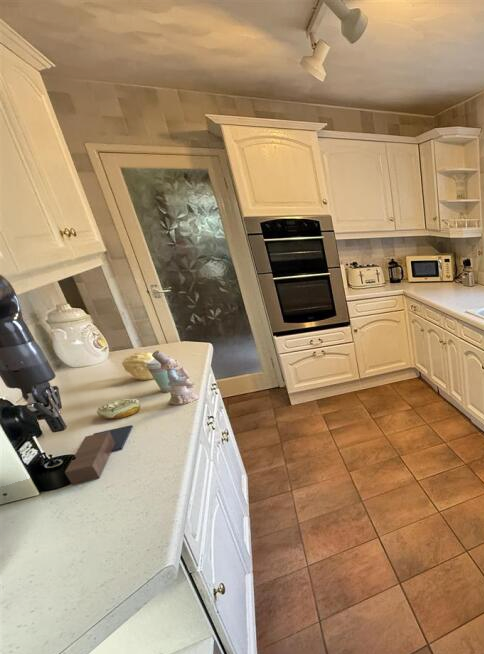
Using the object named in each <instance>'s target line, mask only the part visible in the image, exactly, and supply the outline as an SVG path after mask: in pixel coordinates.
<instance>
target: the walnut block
mask: <svg viewBox="0 0 484 654" xmlns="http://www.w3.org/2000/svg"><path fill="white" fill-rule="evenodd" d="M102 432H103V431H102ZM93 434H94V433H93ZM93 434H89V435H86V436H84V438H83V439H82V441H81V443H80V445H79V446H78V449H77V450H76V452H75V453H74V455H73V457H74V456H75V457H76V459H75V460H72V459H71V461H70V463H69V464H68V466H67V467H66V469H65V471H64V474H65V476H66V477H67V479H68V481H69V482H70V484H71V485H72V486H75V485H79V484H83V483H86V482H91V481H95V480H98V479H101V476H102V474H103V471H104V469H105V467H106V465H107V463H108V460H109V458H110V456H111V453H112V452H111V451H112V449H113V447H114V445H115V441H114V439H113V437H112V435H111V434H110V432H109V431H108V432H103V433H99V434H94V435H93Z"/></svg>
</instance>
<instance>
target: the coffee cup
mask: <svg viewBox="0 0 484 654" xmlns="http://www.w3.org/2000/svg"><path fill="white" fill-rule="evenodd" d="M173 360H175V359H174V358H173ZM146 368H147V369H149V371H150V373H151V374H152V376H153V379H154V381H155V383H156V384H157V387H158V388H159V389H160V391H161V392H162V393H170V390H172V388H171V387H170V386H169V385H168V382H169V379H168V376H167V370H164V369H162V368H161V363H159V362H158V361H157V360H156V359H151V360H149V361H147V362H146ZM176 370H178V368H176Z"/></svg>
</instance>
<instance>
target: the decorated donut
mask: <svg viewBox="0 0 484 654" xmlns="http://www.w3.org/2000/svg"><path fill="white" fill-rule="evenodd" d="M140 408H141V403H140V400H139V399H136V398H122V399H117V400H113V401H111V402H108V403H106V404H103V405H100V406H99V407H98V408H97V410H96V414H97V416H99V417H101V418H102V419H105V420H115V419H117V420H119V419H121V418H125V417H128V416H129V417H130V416H133V415H134V414H136V413H138V412H139V411H140Z"/></svg>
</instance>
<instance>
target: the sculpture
mask: <svg viewBox="0 0 484 654" xmlns="http://www.w3.org/2000/svg"><path fill="white" fill-rule="evenodd" d="M153 353H154V352H149V351H147V352H134V354H131V355H130V356H127V357H125V358H124V359H123V361H122V363H121V365H122V367H123V369H124V371H126V372H127V373H129V374H130V376H132V377H133V378H135V379H137V380H141V381H146V380H147V381H149V380H152V379H154V378H153V376H152V374H151V373H150V371H149V369H147V368H146V362H147V361H149V360H151V359H155V358H154V357H153V356H152V354H153Z"/></svg>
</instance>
